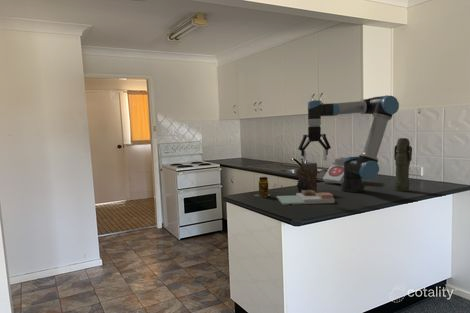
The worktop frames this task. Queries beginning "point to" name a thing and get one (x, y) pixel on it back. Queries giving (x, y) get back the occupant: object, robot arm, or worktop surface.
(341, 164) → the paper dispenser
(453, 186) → the worktop surface
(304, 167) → the knife block
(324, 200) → the pale grey square slab
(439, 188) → the worktop surface
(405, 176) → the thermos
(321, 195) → the terracotta tile
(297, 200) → the mat
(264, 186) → the condiment
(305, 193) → the walnut coaster
